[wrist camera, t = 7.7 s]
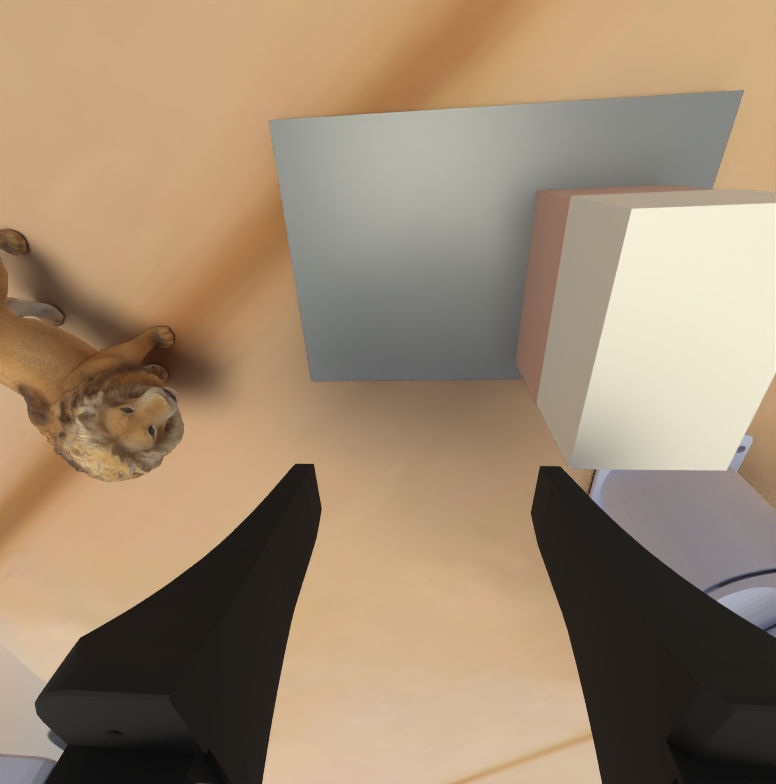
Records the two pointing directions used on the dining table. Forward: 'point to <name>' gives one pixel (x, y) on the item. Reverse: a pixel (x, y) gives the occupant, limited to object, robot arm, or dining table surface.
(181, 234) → the dining table surface
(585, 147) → the baseplate
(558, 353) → the cream brick
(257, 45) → the dining table surface
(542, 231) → the terracotta brick
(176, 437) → the lion figurine
